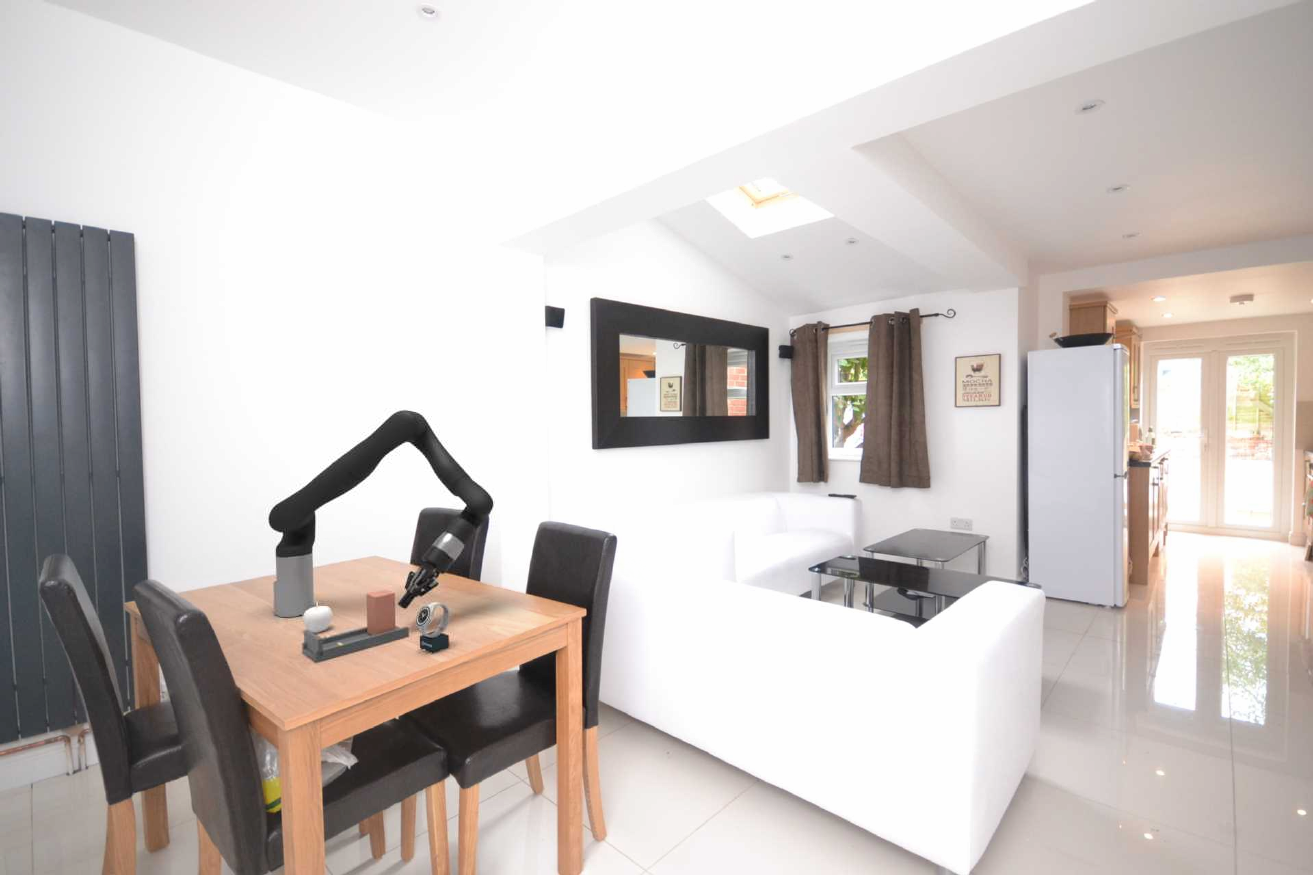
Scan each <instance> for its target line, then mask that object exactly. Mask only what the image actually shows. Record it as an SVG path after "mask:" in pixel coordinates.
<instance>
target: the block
mask: <svg viewBox="0 0 1313 875" xmlns="http://www.w3.org/2000/svg"><path fill="white" fill-rule="evenodd" d="M395 594H396V593H395V592H392V591H390V590H388V589H383V590H378V591H373V592H369V593H366V627H367V633H369V634H371V635H376V634H380V633H383V632H387V631H391V630H395V629H396V628H395V626H396V595H395Z"/></svg>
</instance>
